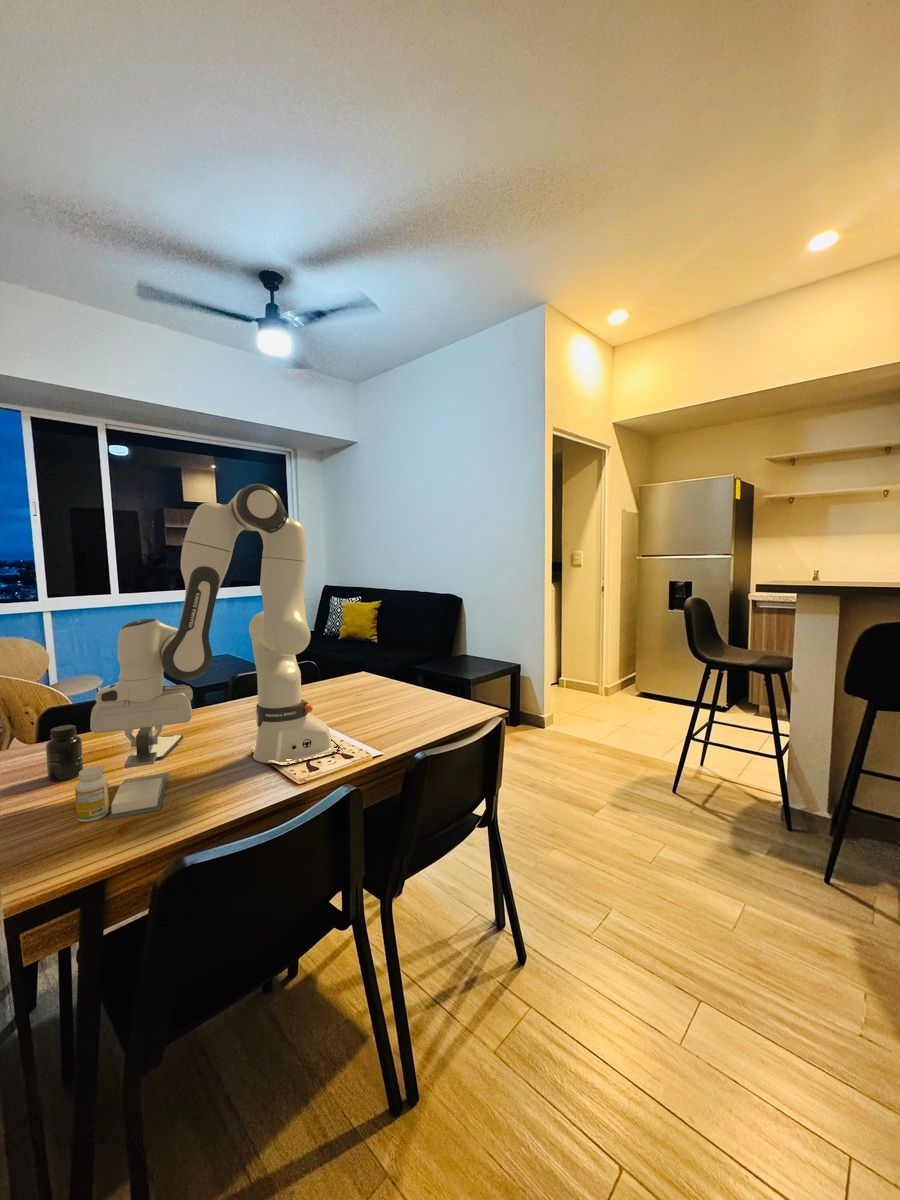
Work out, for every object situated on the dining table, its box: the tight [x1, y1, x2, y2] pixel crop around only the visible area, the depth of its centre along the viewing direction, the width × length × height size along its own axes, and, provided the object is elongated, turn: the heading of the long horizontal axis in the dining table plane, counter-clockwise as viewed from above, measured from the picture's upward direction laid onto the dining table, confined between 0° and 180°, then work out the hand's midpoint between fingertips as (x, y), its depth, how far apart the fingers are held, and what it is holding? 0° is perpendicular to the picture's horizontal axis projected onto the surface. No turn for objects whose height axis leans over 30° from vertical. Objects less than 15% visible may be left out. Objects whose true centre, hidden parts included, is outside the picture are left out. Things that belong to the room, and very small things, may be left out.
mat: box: [107, 772, 170, 820], centre depth 108 cm, size 9×19×1 cm, turn 25°
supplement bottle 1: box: [45, 724, 84, 782], centre depth 117 cm, size 7×7×12 cm
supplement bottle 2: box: [74, 765, 110, 823], centre depth 99 cm, size 5×5×10 cm
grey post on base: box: [124, 727, 157, 769], centre depth 112 cm, size 12×6×5 cm, turn 25°
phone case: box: [132, 734, 184, 761], centre depth 134 cm, size 9×2×16 cm
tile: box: [111, 778, 163, 815], centre depth 105 cm, size 8×2×10 cm
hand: (144, 745), depth 115 cm, fingers closed on grey post on base, 2 cm apart
